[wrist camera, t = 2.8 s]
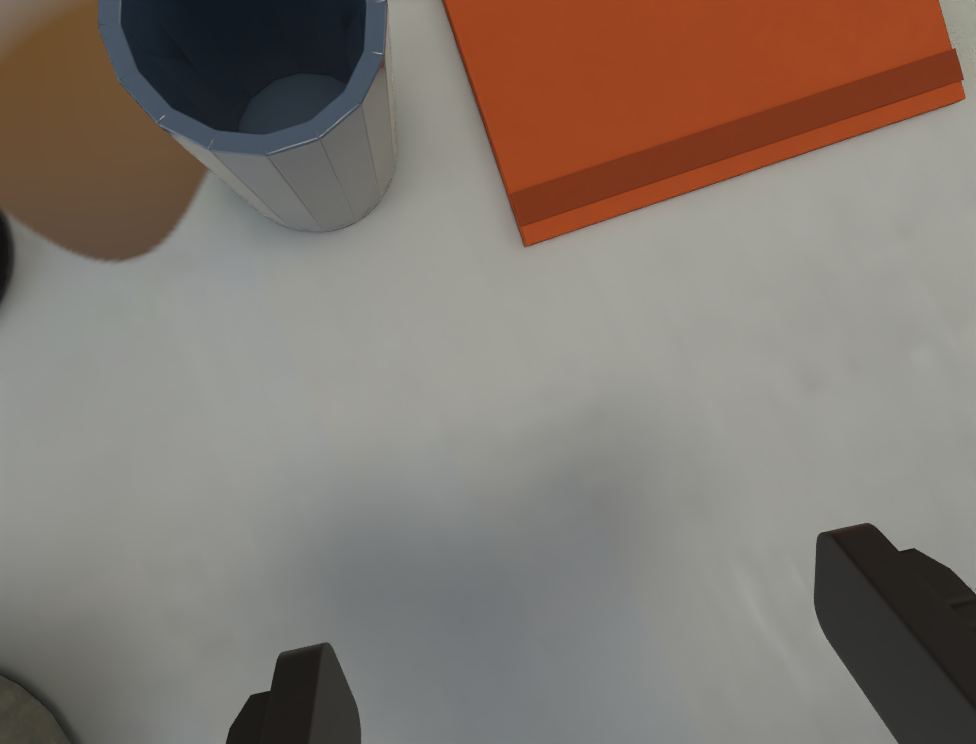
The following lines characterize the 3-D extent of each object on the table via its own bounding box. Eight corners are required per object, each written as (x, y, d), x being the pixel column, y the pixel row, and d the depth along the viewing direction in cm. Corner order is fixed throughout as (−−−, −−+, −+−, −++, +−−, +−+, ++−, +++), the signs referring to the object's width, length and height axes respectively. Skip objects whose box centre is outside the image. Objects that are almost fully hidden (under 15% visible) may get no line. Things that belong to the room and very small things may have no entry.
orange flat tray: (878, -183, 26) (887, -194, 25) (958, 101, 27) (968, 97, 26) (424, -53, 24) (424, -61, 24) (524, 247, 25) (527, 245, 24)
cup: (364, 46, 24) (331, -164, 14) (418, 203, 24) (423, 107, 14) (204, 95, 23) (53, -89, 13) (263, 254, 24) (158, 189, 14)
